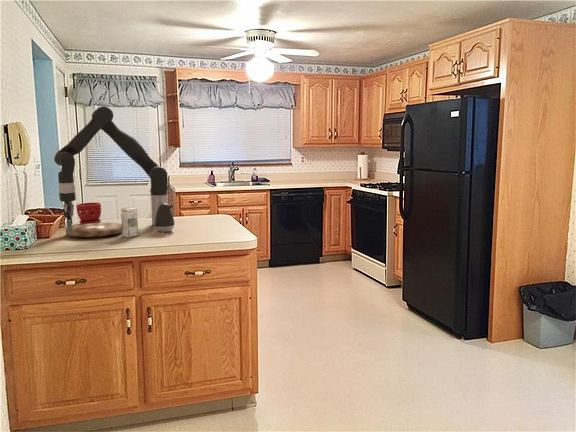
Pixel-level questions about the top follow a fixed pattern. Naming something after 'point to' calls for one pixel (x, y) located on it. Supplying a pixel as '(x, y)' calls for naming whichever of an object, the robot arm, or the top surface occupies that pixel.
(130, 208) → the syrup box
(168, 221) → the pump dispenser
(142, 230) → the top surface
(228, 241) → the top surface
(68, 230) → the disc
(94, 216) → the plant pot
